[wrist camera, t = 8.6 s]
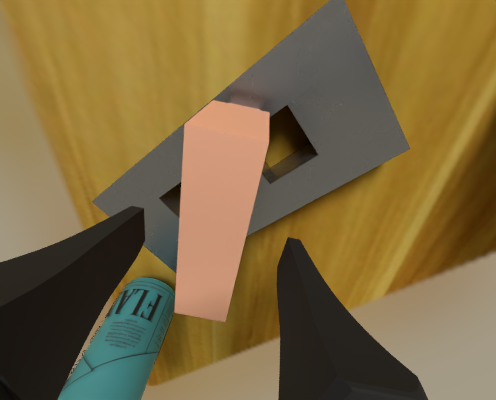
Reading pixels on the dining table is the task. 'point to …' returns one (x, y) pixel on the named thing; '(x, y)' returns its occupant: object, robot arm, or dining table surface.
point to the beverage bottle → (124, 345)
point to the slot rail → (306, 113)
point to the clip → (217, 203)
